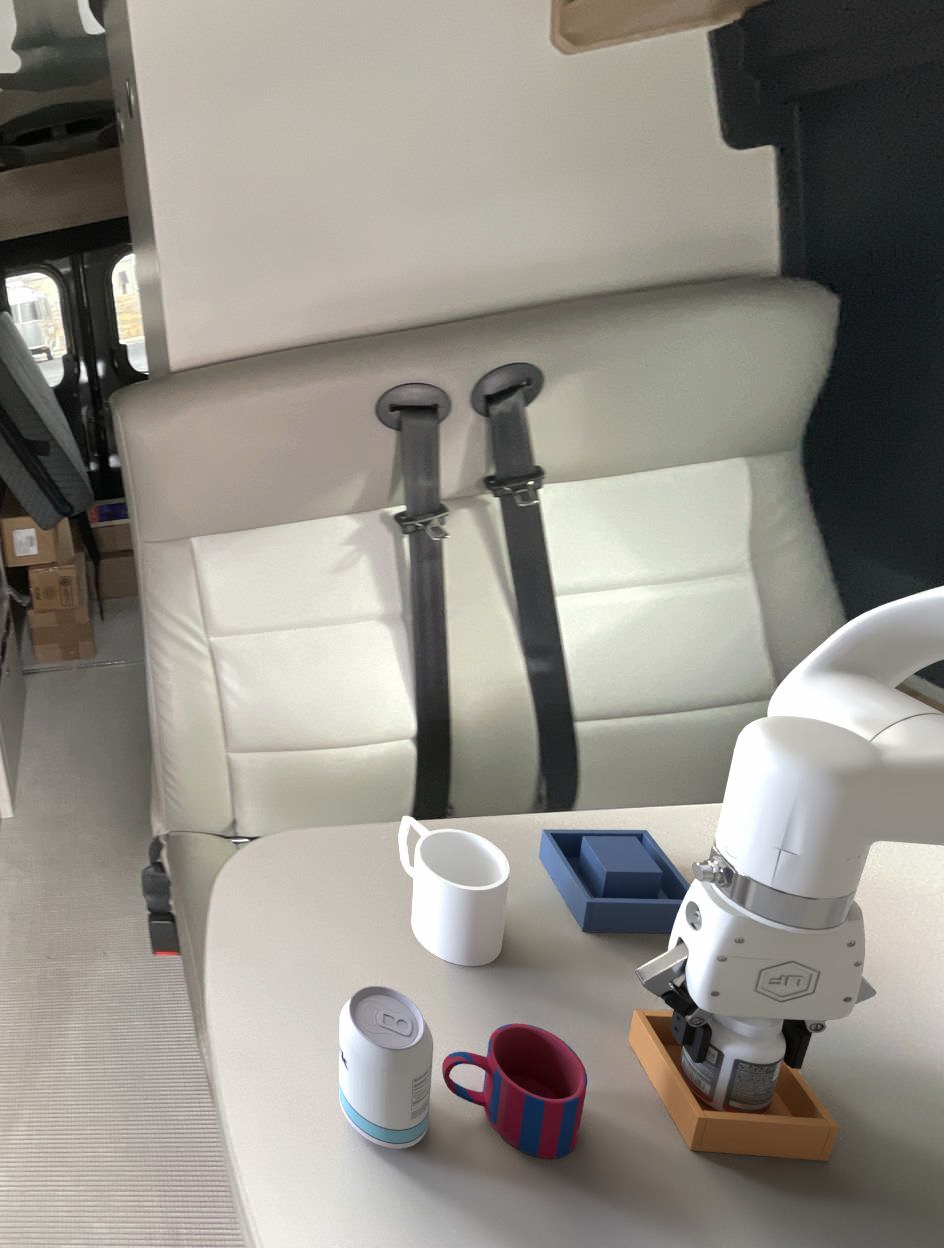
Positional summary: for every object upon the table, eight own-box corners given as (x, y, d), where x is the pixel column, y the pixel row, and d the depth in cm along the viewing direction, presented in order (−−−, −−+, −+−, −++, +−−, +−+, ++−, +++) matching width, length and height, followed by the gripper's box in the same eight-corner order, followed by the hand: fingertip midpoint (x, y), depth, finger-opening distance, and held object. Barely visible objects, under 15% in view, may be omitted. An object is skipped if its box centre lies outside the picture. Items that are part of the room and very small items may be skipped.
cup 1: (426, 867, 94) (430, 797, 91) (521, 947, 83) (530, 871, 80) (367, 893, 92) (369, 822, 89) (457, 978, 81) (463, 901, 78)
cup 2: (587, 1171, 65) (597, 1114, 63) (443, 1133, 69) (447, 1078, 67) (567, 1089, 71) (576, 1034, 68) (435, 1058, 75) (439, 1005, 72)
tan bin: (748, 1046, 72) (757, 1014, 70) (828, 1161, 63) (840, 1127, 62) (627, 1040, 74) (633, 1008, 72) (690, 1150, 65) (698, 1117, 64)
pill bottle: (771, 1079, 68) (796, 994, 65) (767, 1137, 64) (793, 1050, 61) (681, 1040, 72) (701, 957, 68) (673, 1092, 68) (692, 1008, 65)
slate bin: (641, 858, 91) (646, 829, 90) (698, 934, 82) (704, 904, 80) (538, 856, 93) (541, 829, 92) (582, 931, 84) (586, 902, 83)
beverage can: (345, 1062, 76) (346, 967, 71) (430, 1093, 72) (437, 996, 68) (332, 1134, 70) (333, 1036, 66) (424, 1171, 67) (430, 1071, 62)
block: (629, 872, 89) (635, 836, 87) (655, 909, 84) (663, 872, 83) (577, 871, 90) (582, 835, 88) (600, 908, 86) (606, 871, 84)
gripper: (672, 916, 58) (637, 1087, 65) (971, 924, 55) (902, 1104, 61) (616, 839, 65) (590, 1001, 72) (879, 841, 61) (826, 1011, 68)
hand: (734, 1047), depth 66 cm, fingers closed on pill bottle, 5 cm apart
